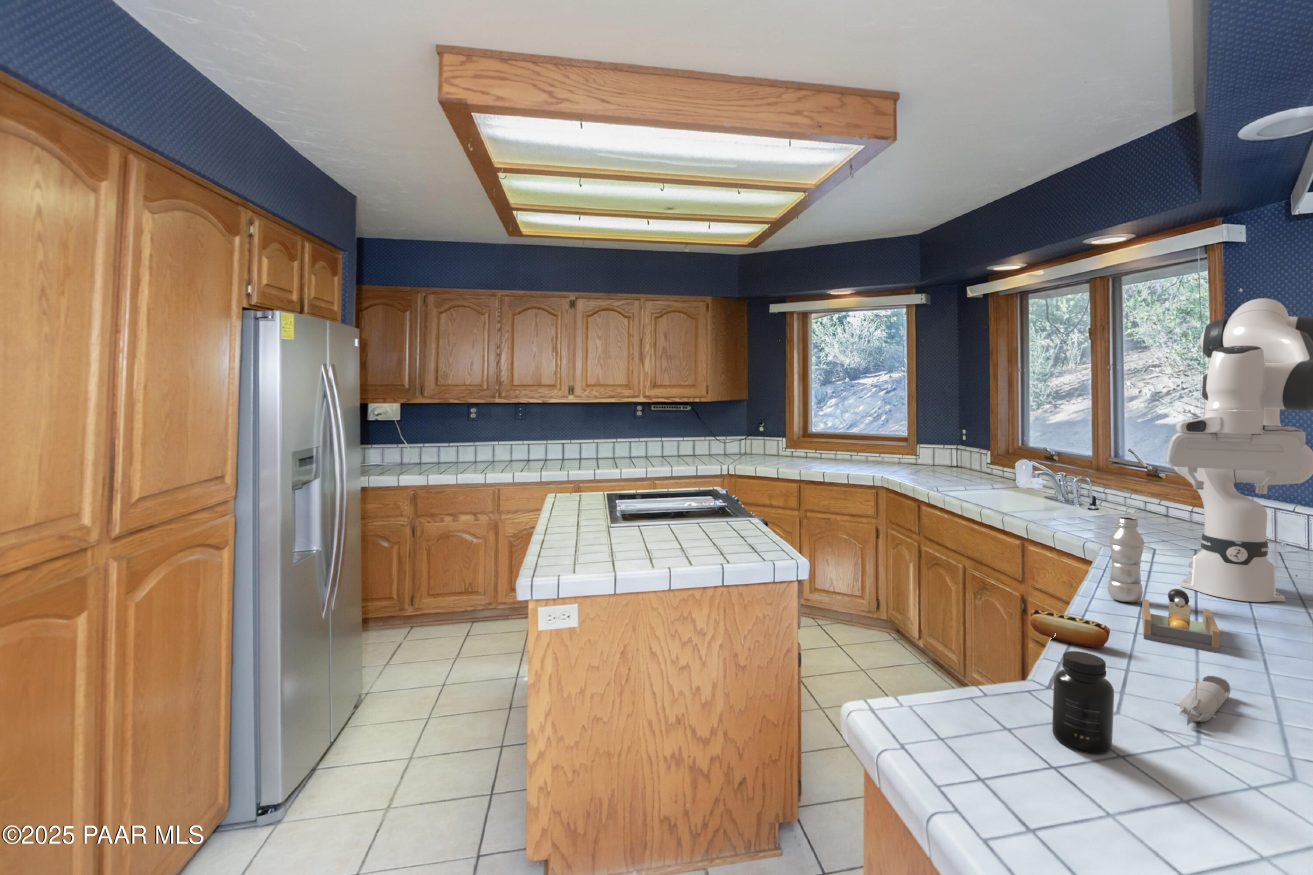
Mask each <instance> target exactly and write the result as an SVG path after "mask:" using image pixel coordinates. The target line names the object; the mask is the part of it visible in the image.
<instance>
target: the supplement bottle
mask: <svg viewBox="0 0 1313 875" xmlns="http://www.w3.org/2000/svg"><path fill="white" fill-rule="evenodd" d="M1106 664H1107V663H1106V660H1104V659H1103V658H1102V657H1100V656H1098V655H1096V654H1092V653H1088V652H1085V651H1079V650H1078V651H1077V650H1068V651H1065V652H1063V656H1062V663H1061V666H1062V668H1063V669H1060V670H1058V671H1057V672H1056V673H1055V674H1054V675H1053V676H1054V677H1053V689H1052V692H1053V697H1052V720H1051V721H1052V727H1051V728H1052V729H1051V730H1052V735H1053V736H1054V738H1056V740H1057V741H1058V742H1060V743H1061V744H1062V745H1064V746H1066V747H1067V748H1069V749H1072V750H1074V751H1078V752H1081V753H1085V754H1090V755H1103V754H1107V753H1109V752H1110V751H1111V749H1112V746H1113V733H1114V730H1113V729H1114V705H1115V704H1114V700H1115V690H1114V687H1113V685H1112V683H1111V681H1109V680H1108V679H1106V677H1107V669H1106Z"/></svg>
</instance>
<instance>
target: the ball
mask: <svg viewBox="0 0 1313 875" xmlns="http://www.w3.org/2000/svg"><path fill="white" fill-rule="evenodd" d="M1170 627H1176V628H1181V629H1187V630H1190V629H1189V626H1188V624H1187V623H1185V622H1184V621H1181V620H1174V621H1172V622H1171V623H1170Z"/></svg>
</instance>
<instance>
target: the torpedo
mask: <svg viewBox="0 0 1313 875" xmlns="http://www.w3.org/2000/svg"><path fill="white" fill-rule="evenodd" d="M1195 681H1196V682H1195V685H1194V686H1193V687H1192V689H1190V691H1189V692H1188V693H1187V694H1186V695H1185V696H1184V697H1183V699H1182V700H1181V701H1180V703H1174V704H1173V705H1175V706H1178V707H1180V708H1179V709H1181V710H1180V711H1179V713H1178V715H1179V716H1183V717H1185V718H1187V719H1186V721H1187V722H1186V726H1187V727H1188V726H1189V725H1191V724H1193V723H1199V722H1200V723H1206V722H1208V721H1210V719H1211V718H1212V717H1213V718H1216V719H1217V716H1216V715H1215V714H1216V713H1217V711H1218V710H1219V709H1220V708H1221V707H1222V706H1223V704H1224V703H1225V701H1227V699H1228V698H1229V696H1230V695H1231V685H1230V683H1229V681H1228V680H1226V679H1224V678H1222V677H1220V676H1217V675H1206V676H1204V677H1203V678H1202V681H1200V682H1199V679H1198V678H1195Z"/></svg>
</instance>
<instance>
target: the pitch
mask: <svg viewBox="0 0 1313 875" xmlns="http://www.w3.org/2000/svg"><path fill="white" fill-rule="evenodd" d="M1141 603H1142V605H1141V621H1142V622H1141V623H1142V634H1143V639H1144V640H1148V641H1153V642H1154V641H1155V642H1158V643H1164V644H1169V643H1170V644H1169V645H1175V646H1179V645H1180V647H1185V646H1186V648H1191V649H1196V650H1201V651H1206V650H1207V652H1211V651H1213V652H1212V653H1216V652H1217V653H1218V654H1219V653H1220V639H1221V638H1220V636H1221V632H1220V629H1219V627H1218V625H1217V624H1218V623H1216V620H1215V619H1214V615H1213V613H1212V611H1211V609H1210V608H1208V609H1207V608H1203V615H1202V621H1197V620H1191V619H1190V628H1189V629H1190V630H1187V629H1181V628H1176V627H1170V626H1168V615H1167V616H1166V615H1161V614H1154V613H1151V609H1150V608H1151V607H1150V601H1149V599H1144V598H1142V602H1141Z"/></svg>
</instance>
